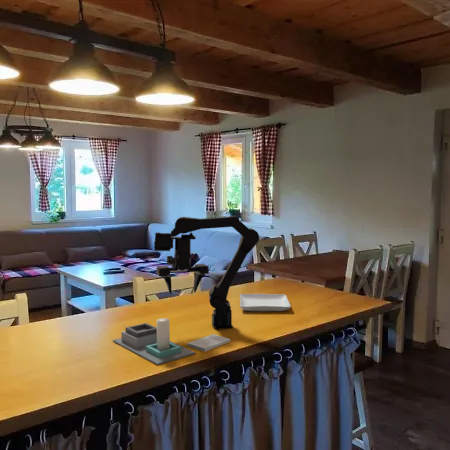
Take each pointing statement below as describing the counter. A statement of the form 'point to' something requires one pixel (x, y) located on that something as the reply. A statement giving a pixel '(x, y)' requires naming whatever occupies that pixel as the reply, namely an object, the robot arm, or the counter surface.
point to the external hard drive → (208, 342)
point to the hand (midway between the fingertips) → (182, 293)
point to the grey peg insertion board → (150, 344)
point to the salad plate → (264, 302)
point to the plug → (163, 334)
